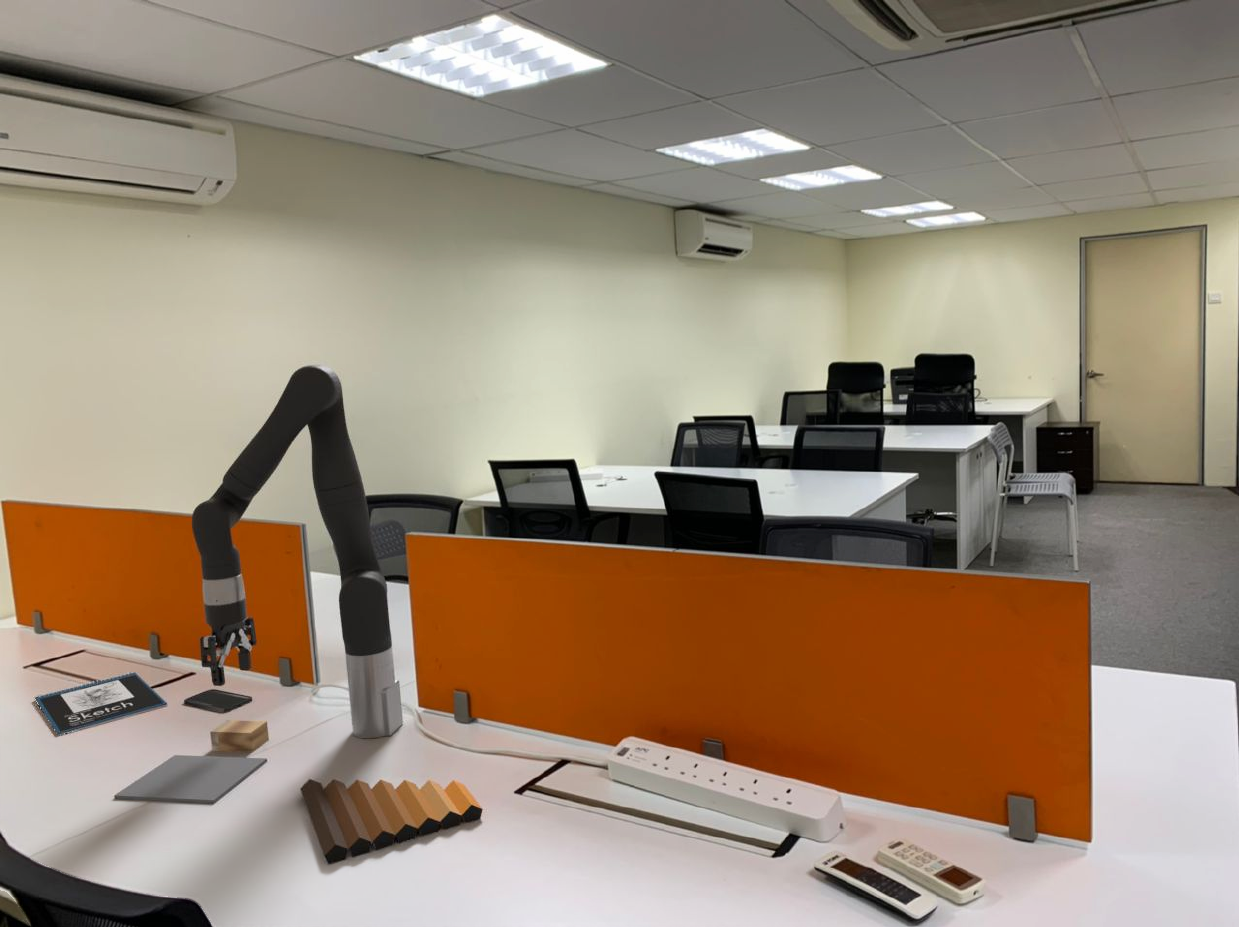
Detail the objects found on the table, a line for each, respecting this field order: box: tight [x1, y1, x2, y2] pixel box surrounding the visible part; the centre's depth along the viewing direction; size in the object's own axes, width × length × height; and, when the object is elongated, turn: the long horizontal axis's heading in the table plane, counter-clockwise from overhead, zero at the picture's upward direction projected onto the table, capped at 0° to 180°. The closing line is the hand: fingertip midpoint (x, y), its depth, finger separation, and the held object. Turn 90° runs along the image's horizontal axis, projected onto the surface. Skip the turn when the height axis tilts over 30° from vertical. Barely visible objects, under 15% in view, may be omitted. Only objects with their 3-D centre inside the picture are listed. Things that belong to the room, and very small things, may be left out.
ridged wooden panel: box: [299, 778, 483, 865], centre depth 150 cm, size 25×3×25 cm
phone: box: [183, 688, 253, 713], centre depth 202 cm, size 8×1×15 cm
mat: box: [113, 754, 268, 804], centre depth 164 cm, size 20×16×1 cm
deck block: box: [209, 719, 270, 753], centre depth 178 cm, size 9×6×4 cm, turn 79°
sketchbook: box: [34, 671, 168, 736], centre depth 206 cm, size 22×30×2 cm
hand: (232, 677), depth 176 cm, fingers open, 8 cm apart
